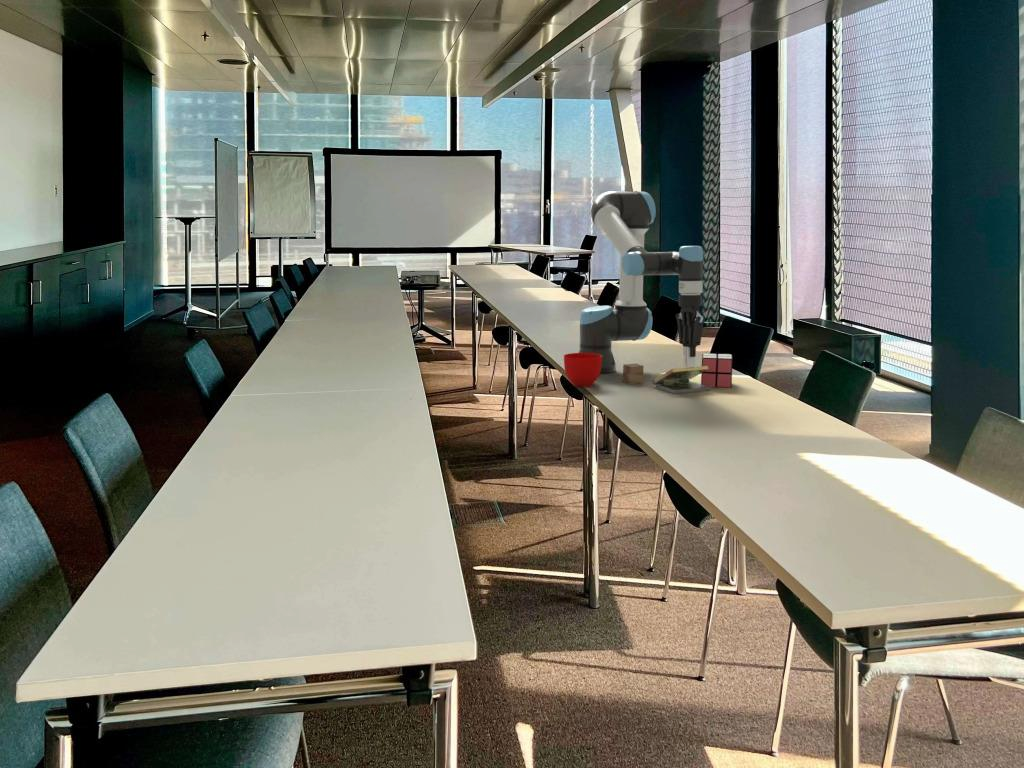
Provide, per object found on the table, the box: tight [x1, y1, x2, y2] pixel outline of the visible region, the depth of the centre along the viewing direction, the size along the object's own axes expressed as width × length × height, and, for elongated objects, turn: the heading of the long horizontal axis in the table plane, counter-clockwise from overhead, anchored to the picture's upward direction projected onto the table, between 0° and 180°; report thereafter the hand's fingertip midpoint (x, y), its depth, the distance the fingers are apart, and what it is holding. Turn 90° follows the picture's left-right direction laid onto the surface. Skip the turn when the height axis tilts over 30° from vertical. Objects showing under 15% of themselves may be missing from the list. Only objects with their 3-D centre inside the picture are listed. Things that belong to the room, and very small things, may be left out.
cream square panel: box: [654, 365, 709, 383], centre depth 319 cm, size 14×13×2 cm
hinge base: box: [651, 378, 711, 395], centre depth 319 cm, size 14×13×3 cm
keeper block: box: [622, 363, 645, 385], centre depth 330 cm, size 5×5×6 cm
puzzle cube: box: [700, 353, 733, 389], centre depth 325 cm, size 10×10×10 cm
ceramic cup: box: [563, 352, 602, 388], centre depth 326 cm, size 13×17×10 cm
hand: (689, 366), depth 313 cm, fingers closed
